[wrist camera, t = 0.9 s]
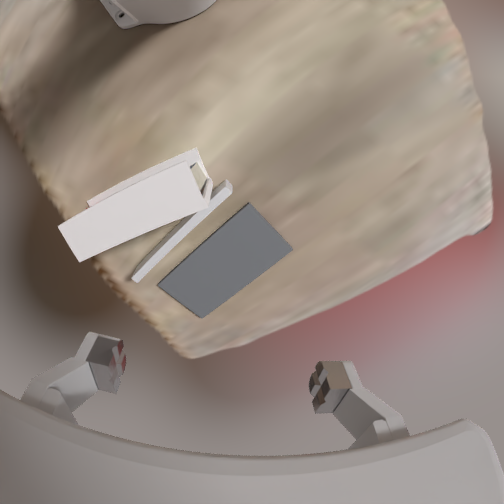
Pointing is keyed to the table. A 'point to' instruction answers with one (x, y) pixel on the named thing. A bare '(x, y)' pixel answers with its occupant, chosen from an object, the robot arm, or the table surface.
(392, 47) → the table surface
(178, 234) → the low wall
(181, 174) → the white boxy piece
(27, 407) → the robot arm
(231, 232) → the mat
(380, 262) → the table surface
